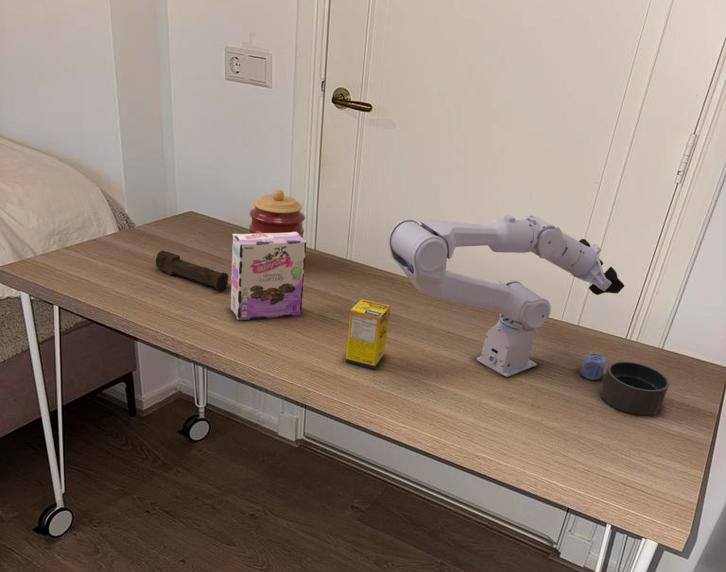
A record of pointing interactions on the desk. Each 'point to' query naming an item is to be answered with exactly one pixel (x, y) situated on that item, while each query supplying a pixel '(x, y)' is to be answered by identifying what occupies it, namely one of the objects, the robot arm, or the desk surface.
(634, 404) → the dark grey round bowl
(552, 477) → the desk surface
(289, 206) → the kitchen canister
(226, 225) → the desk surface
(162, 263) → the hand tool
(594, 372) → the decorative dice
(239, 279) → the candy box
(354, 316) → the supplement box
